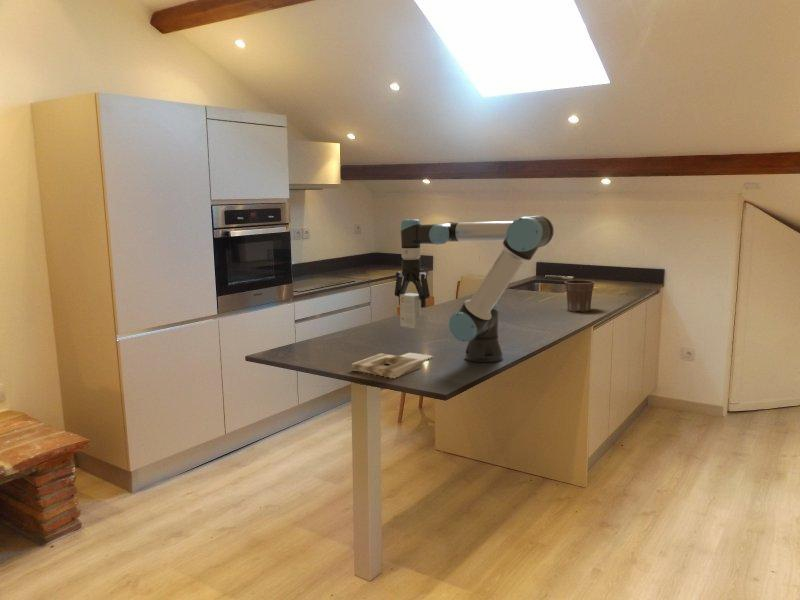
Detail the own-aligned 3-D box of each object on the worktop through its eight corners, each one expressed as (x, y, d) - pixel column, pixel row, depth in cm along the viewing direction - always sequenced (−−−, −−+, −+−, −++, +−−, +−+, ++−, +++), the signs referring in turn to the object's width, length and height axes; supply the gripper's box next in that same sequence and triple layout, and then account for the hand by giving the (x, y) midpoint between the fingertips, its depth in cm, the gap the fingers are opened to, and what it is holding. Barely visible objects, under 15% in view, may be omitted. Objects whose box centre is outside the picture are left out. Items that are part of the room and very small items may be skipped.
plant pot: (575, 306, 360) (575, 278, 357) (600, 309, 347) (600, 281, 345) (558, 310, 349) (558, 281, 347) (582, 314, 337) (583, 284, 334)
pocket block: (421, 367, 242) (421, 359, 242) (393, 378, 228) (393, 370, 228) (381, 360, 254) (380, 353, 254) (352, 371, 240) (351, 363, 240)
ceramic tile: (433, 357, 256) (433, 355, 256) (419, 363, 248) (419, 361, 248) (409, 354, 263) (409, 352, 263) (395, 359, 255) (394, 357, 255)
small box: (425, 326, 253) (424, 294, 251) (414, 328, 248) (414, 296, 246) (410, 323, 258) (409, 292, 256) (399, 326, 254) (399, 294, 252)
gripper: (384, 258, 252) (385, 313, 256) (427, 260, 240) (428, 318, 243) (395, 256, 258) (396, 310, 262) (438, 258, 246) (439, 315, 249)
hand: (412, 314), depth 253 cm, fingers closed on small box, 8 cm apart
